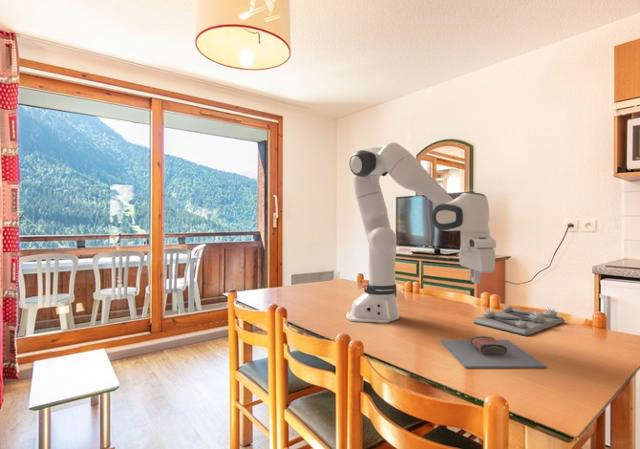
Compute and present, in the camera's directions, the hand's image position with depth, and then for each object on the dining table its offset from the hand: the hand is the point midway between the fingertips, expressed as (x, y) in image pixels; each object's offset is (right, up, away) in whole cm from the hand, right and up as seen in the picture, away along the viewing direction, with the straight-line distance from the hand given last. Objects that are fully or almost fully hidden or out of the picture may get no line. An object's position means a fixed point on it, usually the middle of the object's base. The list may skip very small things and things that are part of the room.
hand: (475, 282), depth 118 cm
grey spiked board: (+27, -20, +23) cm, 41 cm away
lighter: (0, -18, -12) cm, 22 cm away
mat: (0, -20, -9) cm, 22 cm away
